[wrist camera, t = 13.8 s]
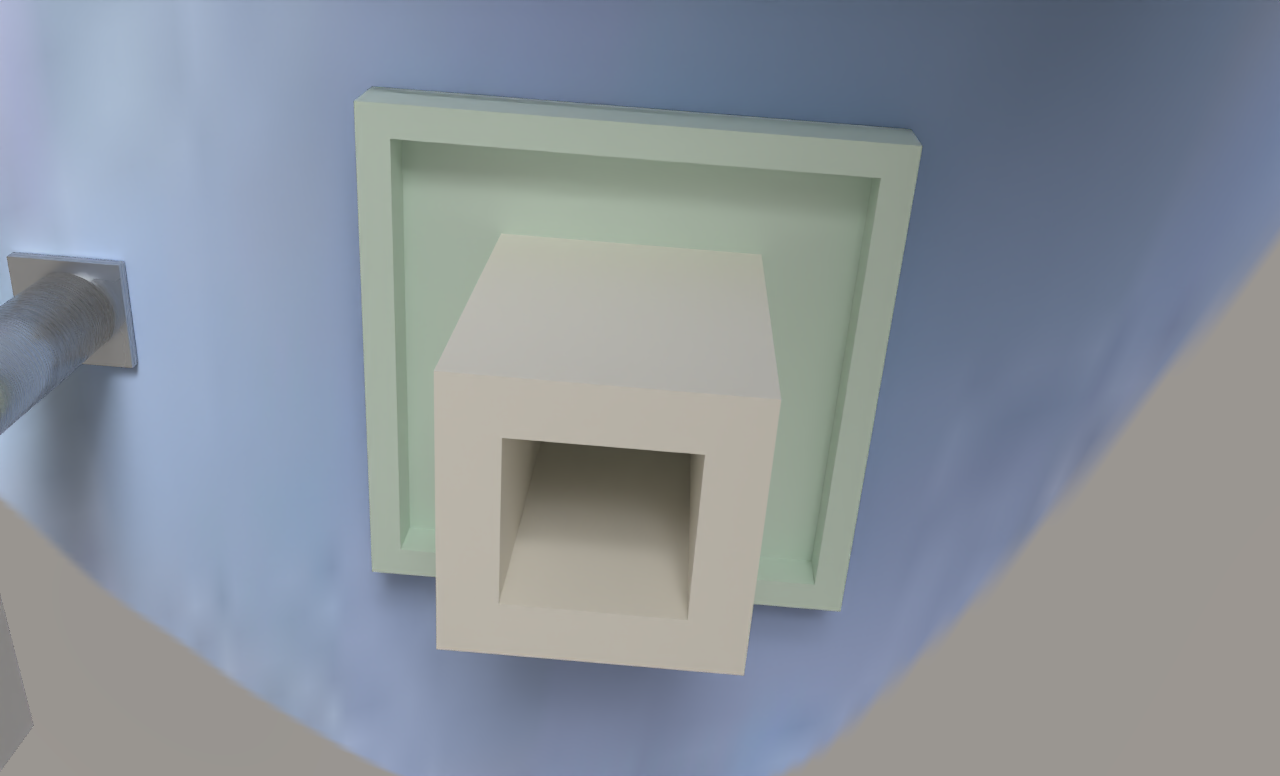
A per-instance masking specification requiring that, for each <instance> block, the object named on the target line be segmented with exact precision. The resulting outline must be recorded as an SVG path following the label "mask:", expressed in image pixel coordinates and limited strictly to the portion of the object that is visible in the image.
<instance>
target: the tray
mask: <svg viewBox="0 0 1280 776" xmlns="http://www.w3.org/2000/svg"><path fill="white" fill-rule="evenodd" d="M354 119H355V145H356V171H357V196H358V222H359V248H360V273H361V299H362V325H363V350H364V376H365V402H366V428H367V453H368V479H369V505H370V530H371V556H372V572H382V573H394V574H405V575H417V576H429V577H436V550H435V451H434V369H435V367H436V365H437V363H438V361H439V359H440V357H441V355H442V353H443V351H444V349H445V347H446V345H447V343H448V341H449V339H450V337H451V335H452V333H453V331H454V329H455V327H456V324H457V322H458V320H459V318H460V316H461V314H462V312H463V310H464V308H465V306H466V304H467V302H468V300H469V298H470V296H471V294H472V292H473V290H474V288H475V286H476V284H477V282H478V280H479V278H480V276H481V274H482V272H483V269H484V267H485V265H486V263H487V261H488V259H489V257H490V255H491V253H492V251H493V249H494V247H495V245H496V243H497V241H498V239H499V237H500V235H501V233H503V234H515V235H528V236H540V237H552V238H565V239H577V240H589V241H602V242H614V243H626V244H639V245H651V246H663V247H676V248H688V249H700V250H713V251H725V252H737V253H750V254H762V262H763V269H764V276H765V284H766V291H767V298H768V306H769V313H770V320H771V328H772V335H773V342H774V350H775V357H776V364H777V372H778V379H779V386H780V394H781V406H780V413H779V420H778V428H777V435H776V442H775V450H774V457H773V465H772V472H771V479H770V487H769V494H768V501H767V509H766V516H765V523H764V531H763V538H762V546H761V553H760V560H759V568H758V575H757V582H756V590H755V597H754V604H758V605H770V606H781V607H793V608H805V609H817V610H828V611H841V605H842V600H843V594H844V588H845V583H846V577H847V571H848V566H849V560H850V554H851V549H852V543H853V537H854V532H855V526H856V520H857V514H858V509H859V503H860V497H861V492H862V486H863V480H864V475H865V469H866V463H867V458H868V452H869V446H870V441H871V435H872V429H873V424H874V418H875V412H876V407H877V401H878V395H879V390H880V384H881V378H882V373H883V367H884V361H885V356H886V350H887V344H888V339H889V333H890V327H891V322H892V316H893V310H894V305H895V299H896V293H897V288H898V282H899V276H900V271H901V265H902V259H903V254H904V248H905V242H906V237H907V231H908V225H909V220H910V214H911V208H912V203H913V197H914V191H915V186H916V180H917V174H918V169H919V163H920V157H921V152H922V145H921V143H920V142H919V140H918V139H917V137H916V136H915V134H914V133H913V132H912V130H911V129H901V128H889V127H876V126H863V125H851V124H838V123H826V122H813V121H801V120H788V119H775V118H763V117H750V116H738V115H725V114H712V113H700V112H687V111H675V110H662V109H650V108H637V107H624V106H612V105H599V104H587V103H574V102H561V101H549V100H536V99H524V98H511V97H498V96H486V95H473V94H461V93H448V92H436V91H423V90H410V89H398V88H385V87H373V86H372V87H371V88H369V89H368V90H367V91H366V92H364V93H363V94H362V95H361V96H359V97H358V98H357V99H356V100H354Z"/></svg>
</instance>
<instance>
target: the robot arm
mask: <svg viewBox="0 0 1280 776" xmlns="http://www.w3.org/2000/svg"><path fill="white" fill-rule="evenodd" d="M33 726H34V725H33V721H32V717H31V713H30V709H29V705H28V701H27V698H26V693H25V689H24V685H23V681H22V678H21V674H20V670H19V666H18V662H17V658H16V654H15V650H14V646H13V643H12V639H11V634H10V630H9V627H8V623H7V619H6V615H5V612H4V607H3V603H2V599H1V595H0V771H1V770H2V769H3V767H4V766H5V764H6V763H7V762H8V760H9V759H10V757H11V756H12V755H13V753H14V752H15V750H16V749H17V748H18V747H19V745H20V744H21V742H22V741H23V740H24V738H25V737H26V736H27V734H28V733H29V731H30V730H31V729H32V727H33Z"/></svg>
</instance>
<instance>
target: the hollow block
mask: <svg viewBox="0 0 1280 776" xmlns="http://www.w3.org/2000/svg"><path fill="white" fill-rule="evenodd" d="M780 406H781V394H780V386H779V379H778V372H777V364H776V357H775V350H774V342H773V335H772V328H771V320H770V313H769V306H768V298H767V291H766V284H765V276H764V269H763V262H762V254H750V253H737V252H725V251H713V250H700V249H688V248H676V247H663V246H651V245H639V244H626V243H614V242H602V241H589V240H577V239H565V238H552V237H540V236H528V235H515V234H503V233H501V235H500V237H499V239H498V241H497V243H496V245H495V247H494V249H493V251H492V253H491V255H490V257H489V259H488V261H487V263H486V265H485V267H484V269H483V272H482V274H481V276H480V278H479V280H478V282H477V284H476V286H475V288H474V290H473V292H472V294H471V296H470V298H469V300H468V302H467V304H466V306H465V308H464V310H463V312H462V314H461V316H460V318H459V320H458V322H457V324H456V327H455V329H454V331H453V333H452V335H451V337H450V339H449V341H448V343H447V345H446V347H445V349H444V351H443V353H442V355H441V357H440V359H439V361H438V363H437V365H436V367H435V369H434V451H435V550H436V648H437V649H441V650H453V651H464V652H476V653H488V654H499V655H511V656H522V657H534V658H546V659H557V660H569V661H581V662H592V663H604V664H615V665H627V666H639V667H650V668H662V669H674V670H685V671H697V672H709V673H720V674H732V675H743V676H744V671H745V663H746V656H747V649H748V641H749V634H750V627H751V619H752V612H753V604H754V597H755V590H756V582H757V575H758V568H759V560H760V553H761V546H762V538H763V531H764V523H765V516H766V509H767V501H768V494H769V487H770V479H771V472H772V465H773V457H774V450H775V442H776V435H777V428H778V420H779V413H780Z"/></svg>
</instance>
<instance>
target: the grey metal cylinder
mask: <svg viewBox="0 0 1280 776" xmlns="http://www.w3.org/2000/svg"><path fill="white" fill-rule="evenodd" d="M7 261H8V267H9V272H10V278H11V284H12V289H13V295H14V297H13V298H11V299H10V300H8V301H7V302H6V303H4V304H3V305H1V306H0V435H1V434H2V433H3V432H4V431H5V430H7V429H8V428H9V427H10V426H11V425H12V424H13V423H15V422H16V421H17V420H18V419H19V418H20V417H21V416H23V415H24V414H25V413H26V412H27V411H28V410H30V409H31V408H32V407H33V406H34V405H35V404H36V403H38V402H39V401H40V400H41V399H42V398H43V397H44V396H46V395H47V394H48V393H49V392H50V391H51V390H52V389H54V388H55V387H56V386H57V385H58V384H59V383H61V382H62V381H63V380H64V379H65V378H66V377H67V376H69V375H70V374H71V373H72V372H73V371H74V370H75V369H77V368H78V367H79V366H80V365H81V364H90V365H102V366H114V367H127V368H133V367H134V366H135V365H136V364H137V363H138V361H137V353H136V346H135V338H134V331H133V323H132V316H131V308H130V301H129V293H128V286H127V278H126V270H125V263H124V261H114V260H102V259H90V258H77V257H65V256H53V255H41V254H28V253H16V252H13V253H11V254H10V255H8V256H7Z"/></svg>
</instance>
